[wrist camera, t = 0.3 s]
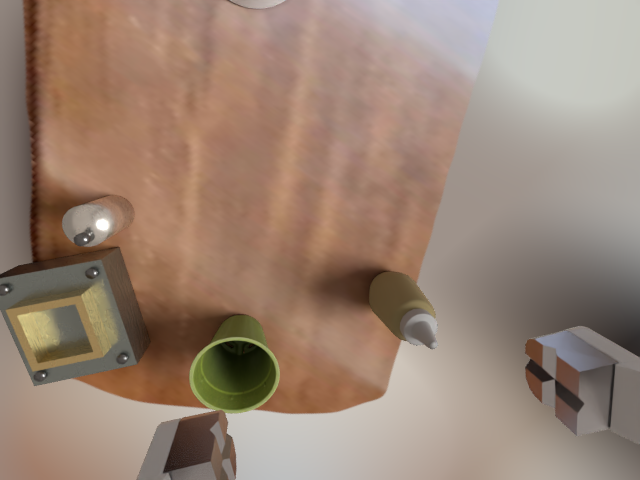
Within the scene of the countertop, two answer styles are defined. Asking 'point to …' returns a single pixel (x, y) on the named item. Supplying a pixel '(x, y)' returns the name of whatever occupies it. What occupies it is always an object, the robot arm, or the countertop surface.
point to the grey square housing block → (73, 315)
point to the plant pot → (235, 368)
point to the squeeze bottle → (403, 308)
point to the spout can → (97, 220)
